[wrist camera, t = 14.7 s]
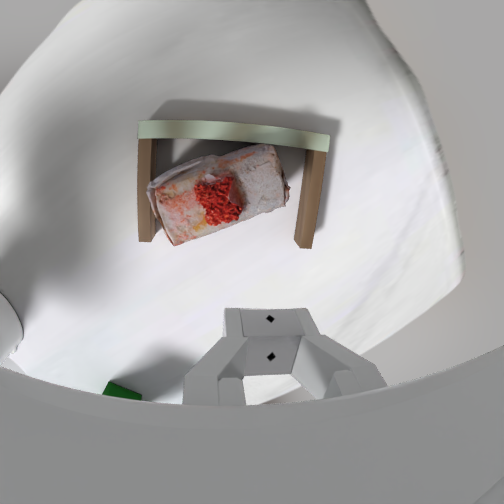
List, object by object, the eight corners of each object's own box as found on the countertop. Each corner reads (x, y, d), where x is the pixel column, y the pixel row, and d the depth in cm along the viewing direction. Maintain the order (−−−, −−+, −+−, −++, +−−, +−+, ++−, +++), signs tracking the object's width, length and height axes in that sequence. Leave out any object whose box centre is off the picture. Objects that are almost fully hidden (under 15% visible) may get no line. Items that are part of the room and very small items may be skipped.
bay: (144, 233, 34) (137, 243, 30) (146, 122, 28) (138, 120, 25) (304, 240, 37) (312, 250, 34) (319, 135, 31) (330, 135, 28)
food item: (180, 232, 34) (168, 266, 25) (154, 175, 31) (130, 190, 22) (281, 191, 34) (305, 212, 25) (260, 131, 31) (277, 129, 22)
